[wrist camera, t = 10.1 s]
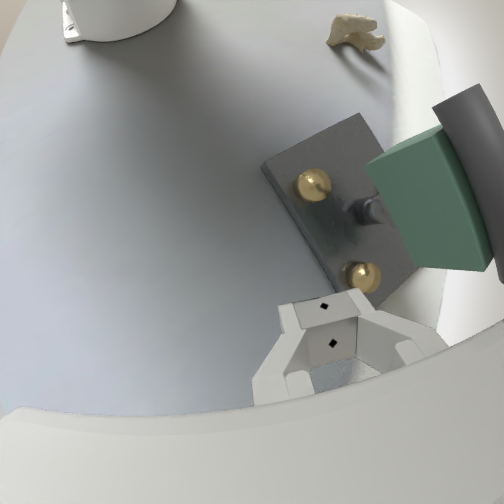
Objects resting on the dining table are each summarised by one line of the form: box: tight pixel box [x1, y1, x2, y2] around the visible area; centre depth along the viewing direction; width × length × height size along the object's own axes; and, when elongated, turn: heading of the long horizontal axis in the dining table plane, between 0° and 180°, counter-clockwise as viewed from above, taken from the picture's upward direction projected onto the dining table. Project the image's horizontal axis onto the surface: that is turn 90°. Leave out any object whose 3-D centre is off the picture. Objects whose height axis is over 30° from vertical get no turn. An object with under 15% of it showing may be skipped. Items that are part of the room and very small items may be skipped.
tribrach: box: [261, 113, 418, 309], centre depth 29 cm, size 20×14×7 cm
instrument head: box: [364, 84, 504, 284], centre depth 18 cm, size 13×6×14 cm, turn 33°
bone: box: [326, 14, 385, 53], centre depth 28 cm, size 9×6×10 cm
